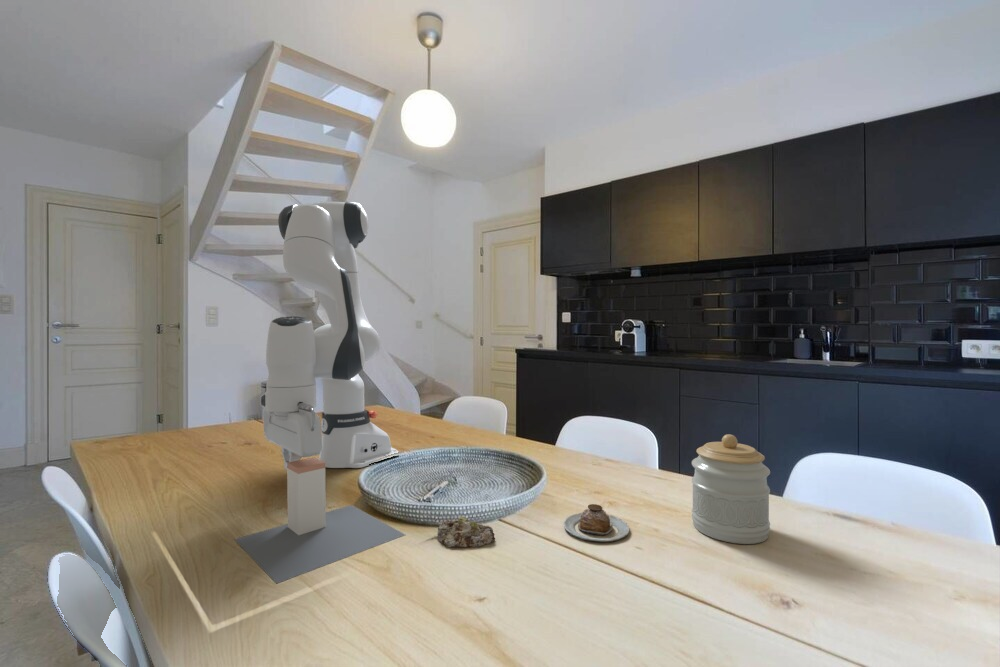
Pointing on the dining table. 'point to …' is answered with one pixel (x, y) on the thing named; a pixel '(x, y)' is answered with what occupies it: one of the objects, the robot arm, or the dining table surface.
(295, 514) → the cream block
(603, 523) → the pastry
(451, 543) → the mineral rock
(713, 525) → the jar
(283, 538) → the rubber mat
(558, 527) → the dining table surface
